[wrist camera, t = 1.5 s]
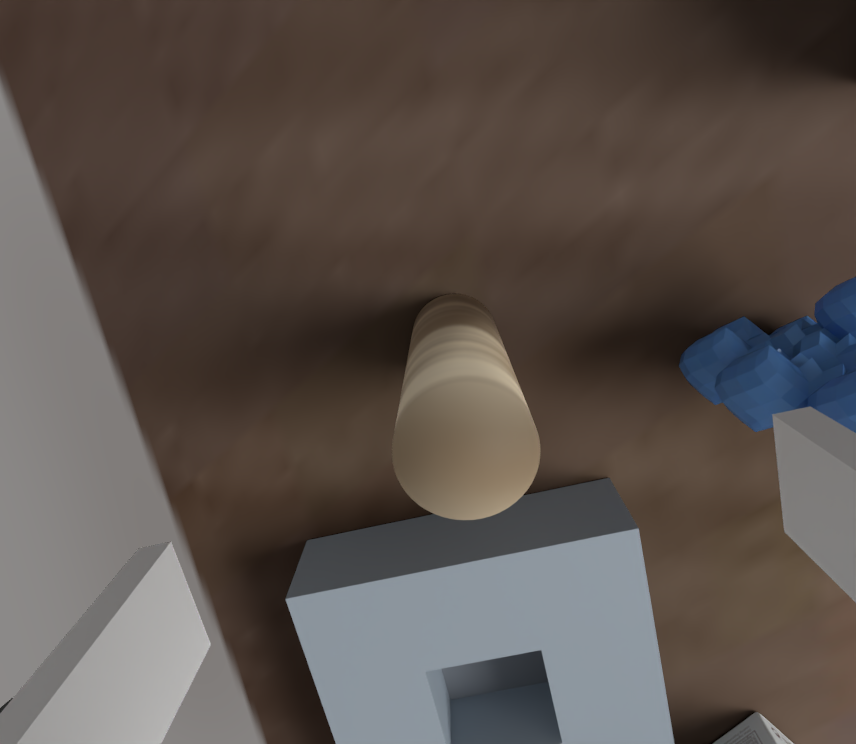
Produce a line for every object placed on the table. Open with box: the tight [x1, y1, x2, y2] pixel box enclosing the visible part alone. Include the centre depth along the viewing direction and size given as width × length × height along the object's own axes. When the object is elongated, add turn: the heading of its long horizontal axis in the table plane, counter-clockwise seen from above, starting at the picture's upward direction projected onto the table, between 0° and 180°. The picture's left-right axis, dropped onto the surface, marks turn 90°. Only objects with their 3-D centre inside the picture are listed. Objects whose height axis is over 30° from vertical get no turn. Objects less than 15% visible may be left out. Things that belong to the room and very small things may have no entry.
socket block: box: [286, 478, 674, 744], centre depth 33 cm, size 16×16×5 cm
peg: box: [392, 294, 540, 520], centre depth 24 cm, size 4×4×14 cm
